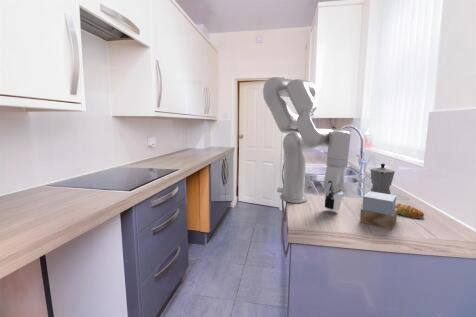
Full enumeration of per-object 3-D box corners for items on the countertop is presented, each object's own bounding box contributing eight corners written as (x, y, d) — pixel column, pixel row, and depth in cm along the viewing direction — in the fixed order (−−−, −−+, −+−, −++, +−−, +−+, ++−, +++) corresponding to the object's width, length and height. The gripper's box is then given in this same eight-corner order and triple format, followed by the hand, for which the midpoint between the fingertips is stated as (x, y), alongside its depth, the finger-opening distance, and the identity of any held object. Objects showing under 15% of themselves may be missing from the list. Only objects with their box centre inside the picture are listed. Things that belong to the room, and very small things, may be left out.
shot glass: (326, 203, 101) (328, 187, 100) (343, 208, 97) (345, 191, 96) (320, 208, 96) (322, 191, 95) (338, 212, 92) (339, 195, 90)
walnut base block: (359, 222, 87) (360, 209, 86) (366, 215, 94) (367, 202, 94) (391, 230, 80) (393, 216, 80) (396, 221, 88) (397, 208, 87)
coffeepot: (391, 208, 101) (396, 166, 99) (366, 204, 106) (370, 164, 103) (391, 199, 114) (394, 162, 112) (368, 195, 119) (371, 160, 116)
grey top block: (362, 209, 86) (363, 196, 85) (367, 203, 93) (368, 191, 92) (391, 215, 80) (392, 201, 80) (395, 208, 87) (396, 195, 86)
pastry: (425, 216, 93) (426, 207, 92) (420, 221, 88) (422, 211, 88) (397, 210, 100) (398, 201, 99) (392, 214, 95) (393, 204, 95)
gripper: (335, 158, 102) (330, 198, 105) (318, 163, 89) (314, 209, 92) (353, 161, 97) (348, 202, 100) (339, 167, 84) (333, 214, 87)
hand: (332, 205), depth 96 cm, fingers closed on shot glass, 6 cm apart
